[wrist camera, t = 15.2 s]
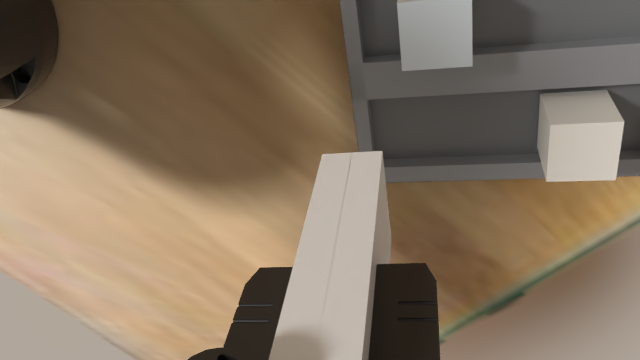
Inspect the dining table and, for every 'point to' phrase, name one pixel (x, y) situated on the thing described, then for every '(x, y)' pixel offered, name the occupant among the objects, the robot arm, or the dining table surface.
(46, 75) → the robot arm
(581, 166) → the off-white cube
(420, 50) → the pale grey cube
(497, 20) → the gray divided tray
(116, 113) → the dining table surface
